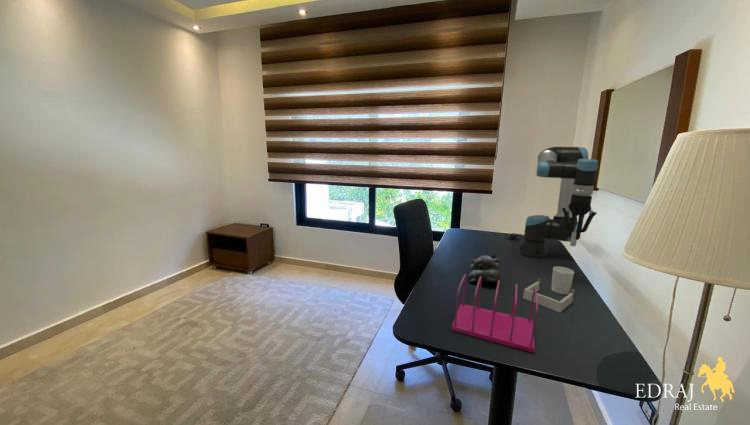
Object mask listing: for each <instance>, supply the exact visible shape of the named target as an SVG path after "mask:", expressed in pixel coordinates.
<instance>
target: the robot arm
mask: <svg viewBox="0 0 750 425" xmlns="http://www.w3.org/2000/svg"><path fill="white" fill-rule="evenodd" d="M598 165H599V161H598V160H597V159H594V158H592V159H590V158H589V151H588V149H587V148H585V147H581V146H553V147H547V148H545V149H544V150H542V151H540V152H539V154H538V155H537V166H536V175H535V176H537V177H538V178H539V177H540V178H544V179H545V178H551V179H552V178H553V179H555V178H556V179H561V180H560V185H559V187H560V188H559V194H558V202H557V211H556V214H554V215H553V218H552V219H551V218H550V216H549V215H544V214H543V215H542V214H536V215H535V214H534V215H529V216H527V217H526V220H525V228H524V233H523V240H522V241H521V243H520V245H519V247H518V253H519V254H520V255H522V256H525V257H529V258H534V259H544V258H547V257H548V249H547V246H546V244H547V243H546V241H547V240H553V241H554V240H555V241H561V242H568V243H569V242H570V243H569V246H570V247H576V246H577V241H579V240H580V239H581V234H582V233H585V232H587V230H588V228H589V226H590V225H591V222H592V221H593V218H594V217H595V216H596V215H597V214H598V213H597V211H595V210H592V206H591V203H592V199H593V196H592V195H593V194H594V187H595V181H596V176H597V171H598V168H599V167H598ZM587 213H588V217H587V218H586V220H585V223H584V218H585V216H586V214H587ZM583 224H584V225H583Z"/></svg>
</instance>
